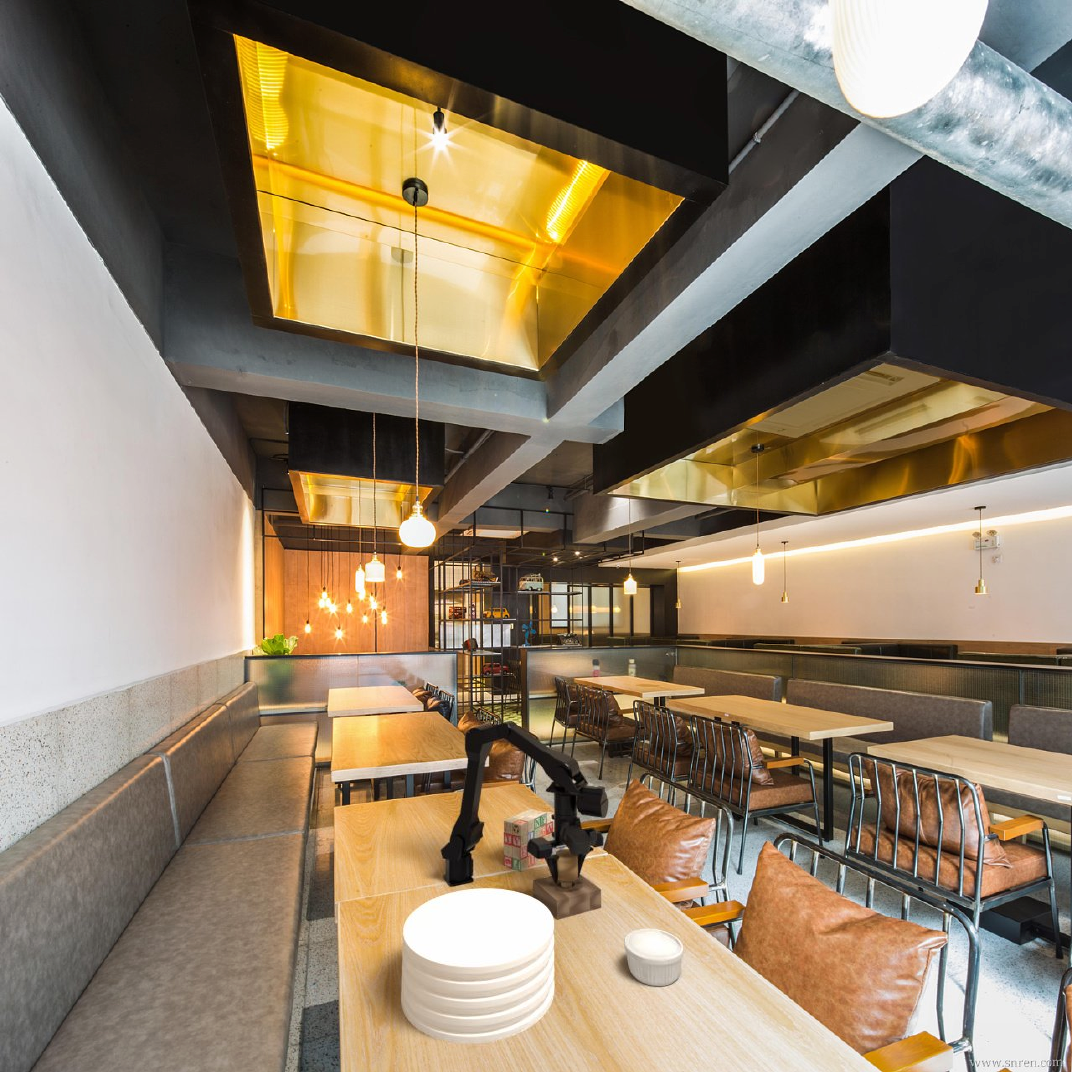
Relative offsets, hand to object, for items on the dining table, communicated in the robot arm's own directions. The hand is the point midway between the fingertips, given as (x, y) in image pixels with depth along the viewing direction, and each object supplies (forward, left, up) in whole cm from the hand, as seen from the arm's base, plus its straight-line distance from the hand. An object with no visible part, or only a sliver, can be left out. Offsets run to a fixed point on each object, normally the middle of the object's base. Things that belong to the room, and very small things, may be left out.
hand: (566, 880), depth 140 cm
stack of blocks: (+6, +28, -5) cm, 29 cm away
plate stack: (-31, -21, -5) cm, 38 cm away
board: (0, 0, -5) cm, 5 cm away
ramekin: (+1, -32, -5) cm, 33 cm away
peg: (0, 0, -3) cm, 3 cm away
